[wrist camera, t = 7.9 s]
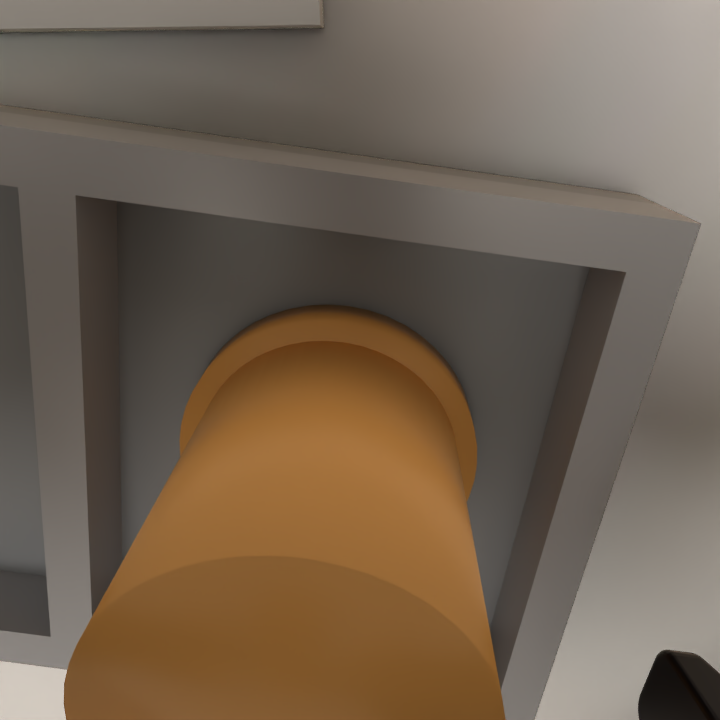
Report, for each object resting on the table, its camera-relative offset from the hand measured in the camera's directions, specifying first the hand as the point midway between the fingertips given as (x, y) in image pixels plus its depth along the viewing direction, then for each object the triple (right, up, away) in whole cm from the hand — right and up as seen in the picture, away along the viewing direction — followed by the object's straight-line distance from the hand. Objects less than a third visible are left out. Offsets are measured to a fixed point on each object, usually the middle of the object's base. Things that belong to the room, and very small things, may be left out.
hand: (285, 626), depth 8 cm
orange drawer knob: (0, +2, +4) cm, 5 cm away
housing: (-4, +3, +5) cm, 7 cm away
